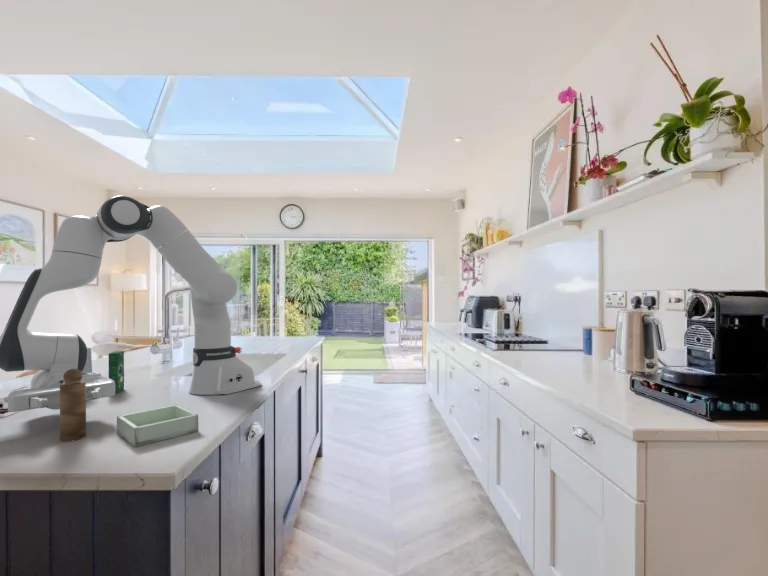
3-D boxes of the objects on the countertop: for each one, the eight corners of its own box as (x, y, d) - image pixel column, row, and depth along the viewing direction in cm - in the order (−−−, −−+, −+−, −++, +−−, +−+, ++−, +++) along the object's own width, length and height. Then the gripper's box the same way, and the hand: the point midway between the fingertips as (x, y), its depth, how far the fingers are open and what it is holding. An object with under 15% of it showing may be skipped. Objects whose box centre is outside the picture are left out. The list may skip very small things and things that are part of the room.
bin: (176, 419, 104) (176, 404, 104) (198, 431, 95) (198, 414, 95) (116, 432, 95) (116, 416, 95) (135, 446, 86) (135, 428, 86)
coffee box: (114, 389, 138) (114, 350, 138) (124, 388, 139) (124, 349, 139) (107, 395, 131) (107, 353, 131) (118, 394, 132) (118, 352, 132)
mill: (83, 432, 95) (83, 366, 95) (88, 437, 92) (87, 368, 92) (58, 438, 92) (57, 368, 92) (62, 443, 88) (61, 371, 89)
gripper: (2, 384, 95) (8, 394, 86) (106, 371, 110) (121, 378, 101) (2, 412, 95) (8, 424, 86) (106, 395, 110) (121, 404, 101)
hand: (70, 399), depth 93 cm, fingers open, 8 cm apart
